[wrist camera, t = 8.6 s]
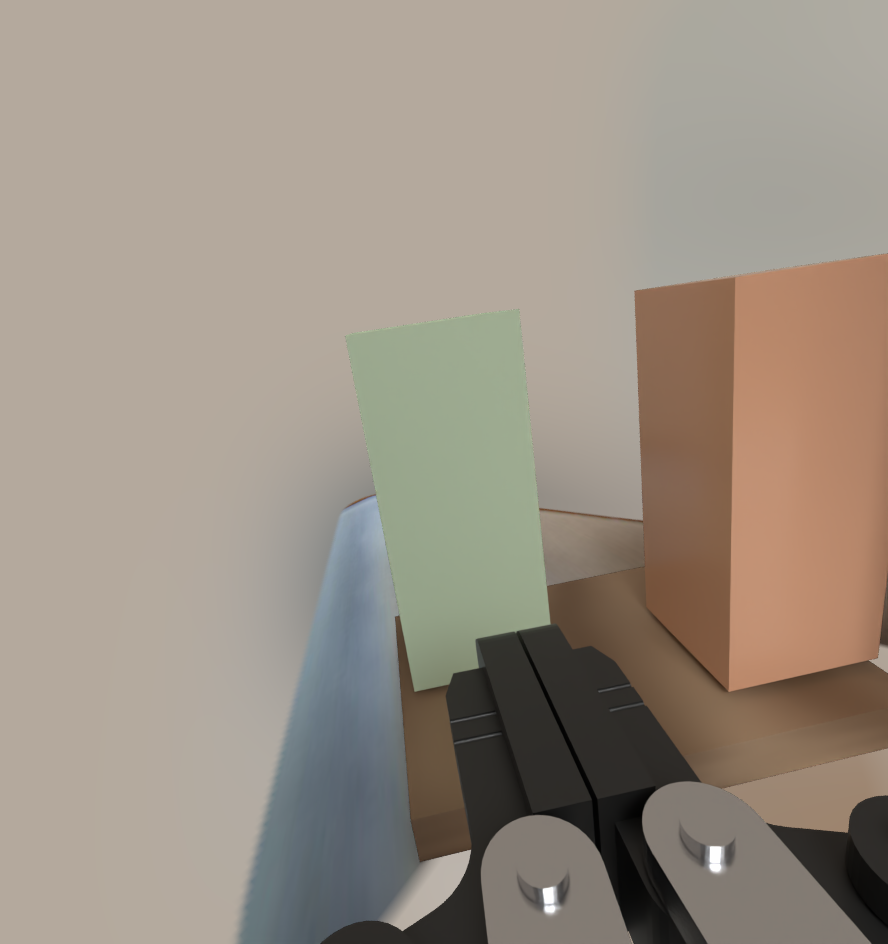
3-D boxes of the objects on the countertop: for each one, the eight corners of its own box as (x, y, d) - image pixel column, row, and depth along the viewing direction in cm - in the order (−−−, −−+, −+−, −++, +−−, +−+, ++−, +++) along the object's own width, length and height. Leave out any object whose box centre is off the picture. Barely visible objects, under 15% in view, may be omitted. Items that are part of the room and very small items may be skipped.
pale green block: (516, 592, 23) (483, 313, 20) (554, 661, 18) (519, 309, 15) (405, 614, 23) (351, 333, 19) (414, 691, 18) (345, 335, 14)
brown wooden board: (709, 581, 25) (709, 553, 24) (919, 740, 15) (925, 698, 15) (400, 645, 24) (395, 616, 23) (419, 862, 14) (410, 820, 14)
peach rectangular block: (763, 582, 21) (774, 269, 18) (877, 658, 16) (924, 248, 13) (646, 607, 21) (634, 290, 17) (729, 691, 16) (735, 277, 12)
